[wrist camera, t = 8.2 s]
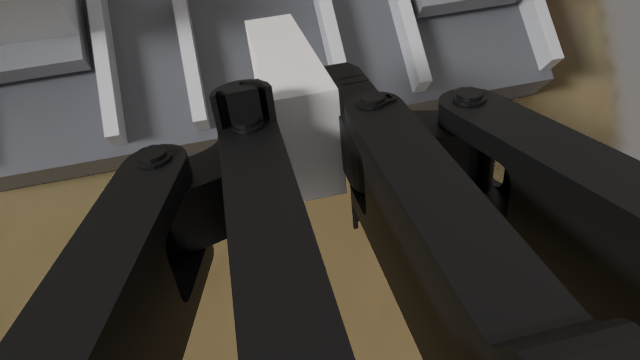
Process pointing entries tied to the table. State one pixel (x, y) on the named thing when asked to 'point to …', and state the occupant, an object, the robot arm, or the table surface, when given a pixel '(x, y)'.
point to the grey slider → (42, 39)
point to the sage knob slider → (452, 6)
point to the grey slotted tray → (248, 71)
